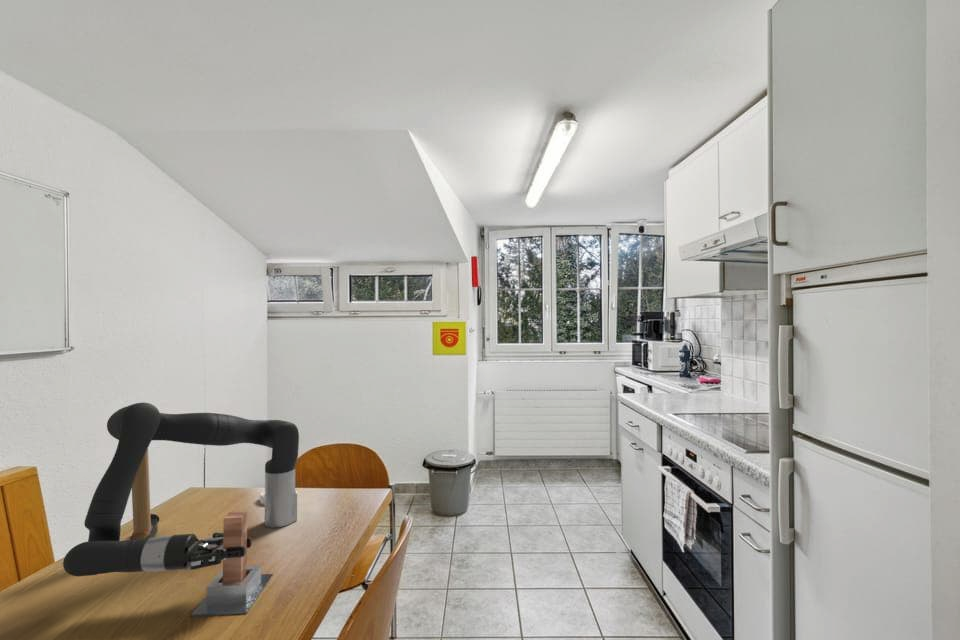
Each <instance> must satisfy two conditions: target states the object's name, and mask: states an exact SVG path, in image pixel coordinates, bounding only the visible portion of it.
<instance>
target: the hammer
mask: <svg viewBox="0 0 960 640" xmlns="http://www.w3.org/2000/svg"><path fill="white" fill-rule="evenodd" d="M149 465H150V464H149V448H148V449H147V451H146V453H145V455H144V457H143V460H142V462H141V464H140V467H139V469H138V472H137V474H136V477H135V480H134V483H133V486H132V489H131V501H132V502H131V503H132V523H133V524H132V526H133V528H132V529H133V532H132V533H131V537H130V538H129V540H132V539H140V538H153V537H157V533H158V523H159V522H160V516H159V515H157V514H155V513H151V496H150V495H151V494H150V470H149V469H150V467H149Z"/></svg>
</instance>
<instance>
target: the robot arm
mask: <svg viewBox="0 0 960 640" xmlns="http://www.w3.org/2000/svg"><path fill="white" fill-rule="evenodd" d="M106 429H107V431H108V433H109V434H110V435H109V436H111V437H112V438H114V439H116V440H117V441H118V443H117V446H116V449H115V452H114V455H113V457H112V460H111V461H110V463H109V466H108V468H107V469H106V471H105V473H104V475H103V476H102V478H101V479H100V481H99V483H98V485H97V486H96V489H95V491H94V493H93V495H92V499H91V501H90V504H89V506H88V510H87V512H86V513H87V514H86V516H85V520H84V522H83V523H84V527H85V528H86V529H87V530H88V531H89V533H88V539H87V541H84V542H80V543H79V544H77V545H75V546H73V547H72V548H70V550H69V551H68V552H67V553H66V554H65V556H64V558H63V561H62V567H63V569H64V571H65V573H67V574H68V575H70V576H72V577H87V576H97V575H102V574H110V573H137V572H139V573H140V572H164V571H167V572H168V571H179V570H187V569H189V568H190V570H192V571H193V570H197V569H202V568H206V567H211V566H216V565H220V564H221V563H222V561H223V560H226V559H227V558H235V557H243V556H244V555H245V547H244V546H241V547H228V549H227V547H223V532H213V533H212V537H207V538H203V539H198V537H197V535H196V534H195V533H185V534H184V533H183V534H170V535H159V536H155V537H153V538H140V539H132V540H130V539H126V540H125V539H124V540H121V532H122V531H121V529H122V528H121V523H122V521H123V520H122V519H123V518H124V514H125V511H126V508H127V505H128V501H129V497H130V496H131V495H130V494H131V493H132V486H133V483H134V480H135V477H136V474H137V472H138V469H139V467H140V464H141V462H142V460H143V457H144V455H145V453H146V451H147V449H148V450H149V446H150V444H151V442H152V441H169V442H176V443H183V444H193V445H199V446H200V445H201V446H202V445H203V446H215V447H216V446H217V447H218V446H219V447H224V446H234V445H238V444H251V445H252V444H253V445H259V446H264V447H267V448H270V449H271V459H269V460H267V461H266V462H265V464H264V490H265V505H264V526H265V527H267V528H281V527H286V526H288V525H291V524H292V523H294V522H297V521H298V491H297V490H296V463H297V461H298V458H299V448H300V447H299V445H300V444H299V443H300V435H299V434H300V433H299V429H298V427H297V425H296V424H295V423H293V422H290V421H286V420H281V419H266V420H265V419H258V420H257V419H247V418H244V417H241V416H236V415H232V414H227V413H226V414H225V413H215V412H188V413H173V414H172V413H163V412H160V410H159V409H158V408H157V406H155V405H154V404H152V403H149V402H136V403H133V404H130V405H127V406H124V407H122V408H120V409H117V410H116V411H115V412H114V413H112V414H111V415H110V417H109V418H108V420H107V423H106ZM251 547H252V538H251V537H247V549H249V548H251Z"/></svg>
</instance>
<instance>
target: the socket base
mask: <svg viewBox="0 0 960 640" xmlns="http://www.w3.org/2000/svg"><path fill="white" fill-rule="evenodd" d="M273 576H274V573H265V574H264V573H263V574H262V565H250V566H249V565H247V569H246V578H245V579H244V580H243V581H242V582H224V583H223V569H221V571H220V572H219V573H218V574H217V575H216V576H215V577H214V578H213V580H211V581H210V583H209V584H208V585H207V586H206V597H205V598H204V599H203V600H202V601H201V602H200V604H199V605H198V606H197V607H196V608H195V609H194V610H193V611H192V612H191V614H190V618H192V617H193V618H195V617H212V616H214V617H215V616H230V615H231V616H232V615H233V616H234V615H248V613H249V612H250V609H251V608H252V607H253V605H255V603H256V602H257V600H258V598H259V597H260V595H261V594H262V592H263V591H264V589H265V588H266V587H267V585H268V584H269V582H270V581H271V579H272V578H273ZM271 577H272V578H271ZM269 580H270V581H269ZM267 583H268V584H267Z"/></svg>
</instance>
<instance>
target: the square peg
mask: <svg viewBox="0 0 960 640" xmlns="http://www.w3.org/2000/svg"><path fill="white" fill-rule="evenodd" d="M222 530H223V532H222V533H223V547H227V549H228V547H241V546H244V547H245V555H244V556H243V557H235V558H227V559H226V560H222V570H223V583H224V582H242V581H243V580H244V579H245V578H246V569H247V566H248V565H247V562H248V561H247V558H248V557H247V556H248V555H247V554H248V548H247V538H248V510H238V511H237V510H236V511H229V512H228V513H227V514H226V515H225V516H224V517H223V528H222Z"/></svg>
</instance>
